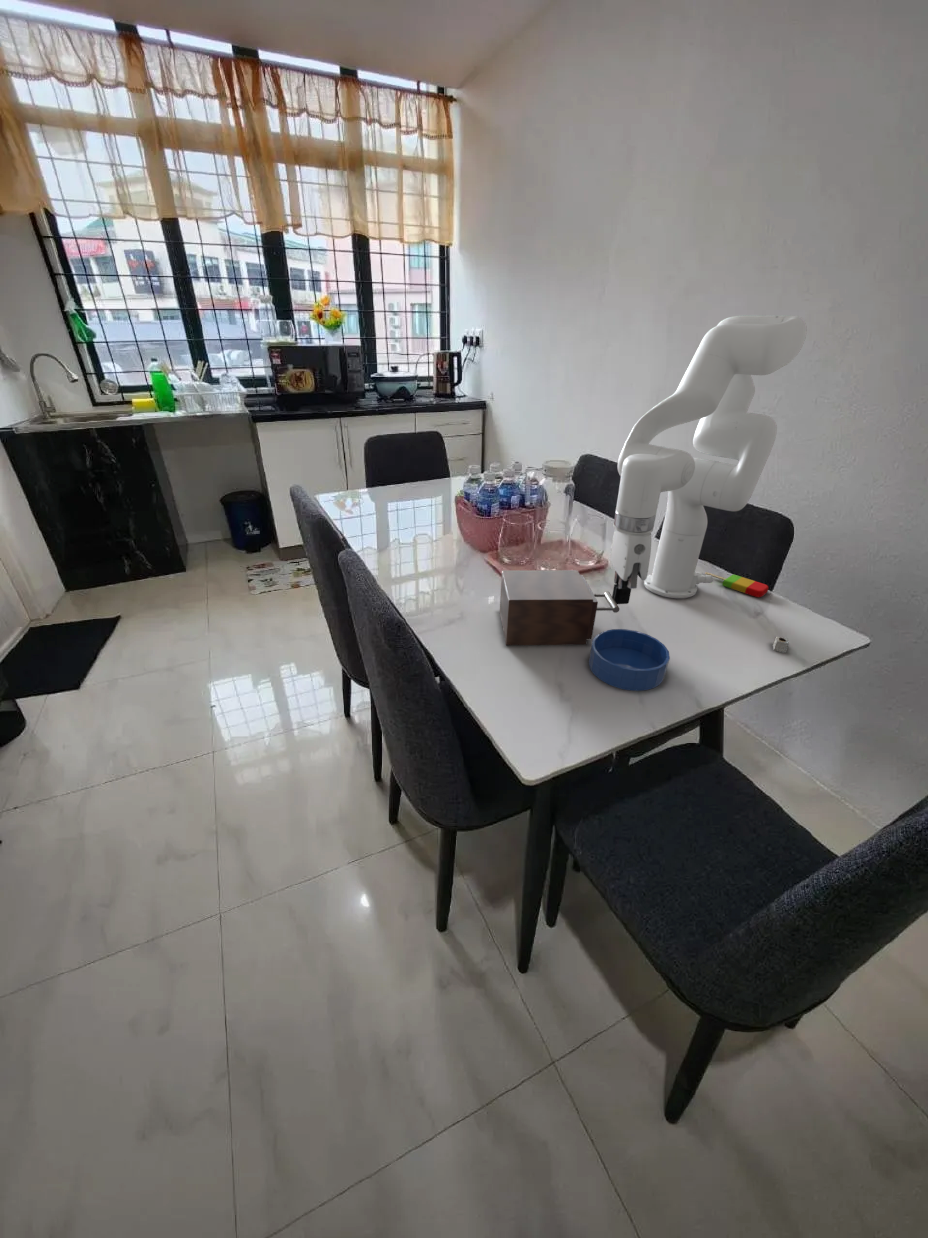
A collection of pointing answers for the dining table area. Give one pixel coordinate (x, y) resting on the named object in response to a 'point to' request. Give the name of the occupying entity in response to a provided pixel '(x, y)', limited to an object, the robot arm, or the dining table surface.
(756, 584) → the popsicle
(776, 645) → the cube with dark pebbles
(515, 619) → the cabinet
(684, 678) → the dining table surface
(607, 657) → the bowl
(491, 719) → the dining table surface
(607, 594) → the drawer
